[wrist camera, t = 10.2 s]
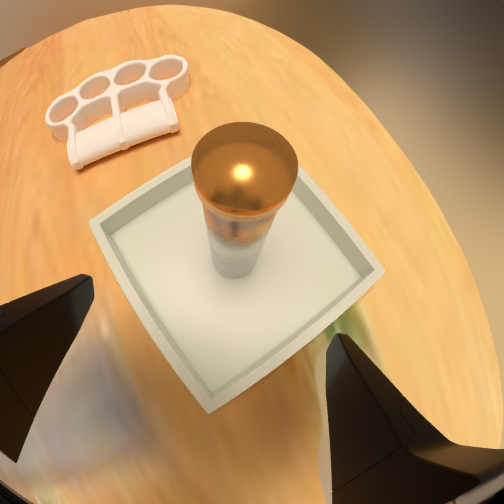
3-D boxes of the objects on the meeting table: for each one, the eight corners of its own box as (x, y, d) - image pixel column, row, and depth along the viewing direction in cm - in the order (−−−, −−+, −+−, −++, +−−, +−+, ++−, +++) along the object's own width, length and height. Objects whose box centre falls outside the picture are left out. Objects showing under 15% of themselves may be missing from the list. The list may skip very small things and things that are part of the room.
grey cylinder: (261, 279, 22) (305, 207, 10) (210, 282, 22) (190, 211, 9) (257, 231, 23) (289, 122, 11) (208, 233, 23) (192, 123, 10)
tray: (369, 279, 23) (386, 271, 21) (210, 404, 19) (208, 414, 17) (254, 141, 27) (258, 122, 24) (101, 234, 22) (88, 222, 20)
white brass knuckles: (55, 188, 24) (57, 106, 27) (211, 128, 27) (179, 60, 31) (40, 173, 21) (48, 90, 24) (210, 106, 24) (177, 41, 27)
